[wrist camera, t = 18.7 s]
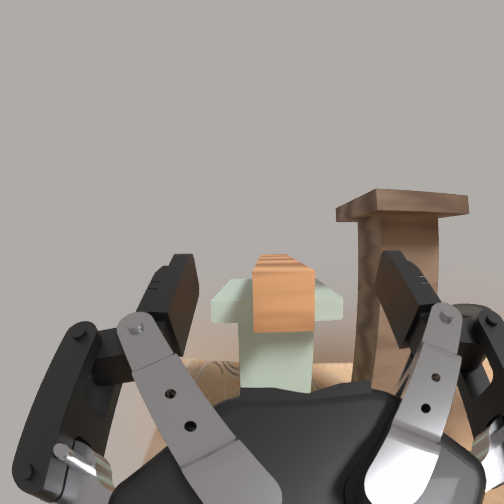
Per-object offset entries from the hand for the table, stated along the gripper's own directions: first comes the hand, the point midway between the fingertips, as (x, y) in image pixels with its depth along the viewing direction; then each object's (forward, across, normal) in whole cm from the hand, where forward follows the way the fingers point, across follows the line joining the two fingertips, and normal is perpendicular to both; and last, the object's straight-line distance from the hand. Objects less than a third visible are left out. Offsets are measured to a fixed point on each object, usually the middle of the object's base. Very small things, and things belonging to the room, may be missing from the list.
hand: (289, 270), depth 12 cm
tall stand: (+5, -15, +33) cm, 37 cm away
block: (+12, 0, +11) cm, 16 cm away
